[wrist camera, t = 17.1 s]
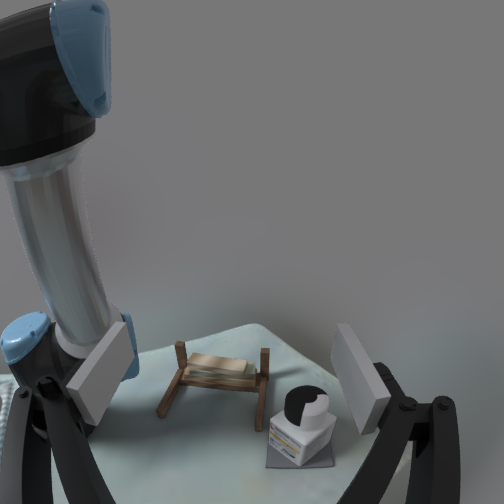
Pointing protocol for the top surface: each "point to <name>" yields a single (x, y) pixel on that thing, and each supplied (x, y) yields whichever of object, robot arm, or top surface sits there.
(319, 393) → the container
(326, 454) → the rubber mat
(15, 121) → the robot arm
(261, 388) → the walnut rack
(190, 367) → the offcut stack
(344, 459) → the top surface
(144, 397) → the top surface
